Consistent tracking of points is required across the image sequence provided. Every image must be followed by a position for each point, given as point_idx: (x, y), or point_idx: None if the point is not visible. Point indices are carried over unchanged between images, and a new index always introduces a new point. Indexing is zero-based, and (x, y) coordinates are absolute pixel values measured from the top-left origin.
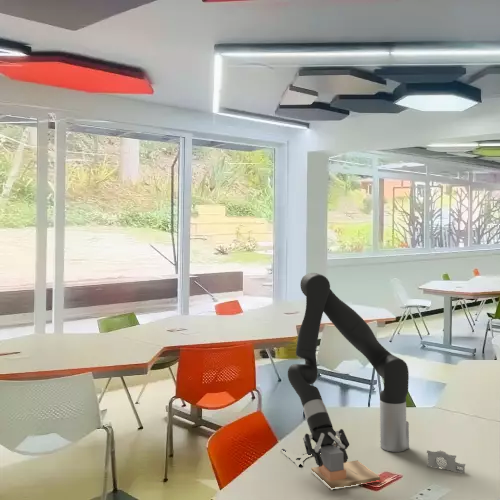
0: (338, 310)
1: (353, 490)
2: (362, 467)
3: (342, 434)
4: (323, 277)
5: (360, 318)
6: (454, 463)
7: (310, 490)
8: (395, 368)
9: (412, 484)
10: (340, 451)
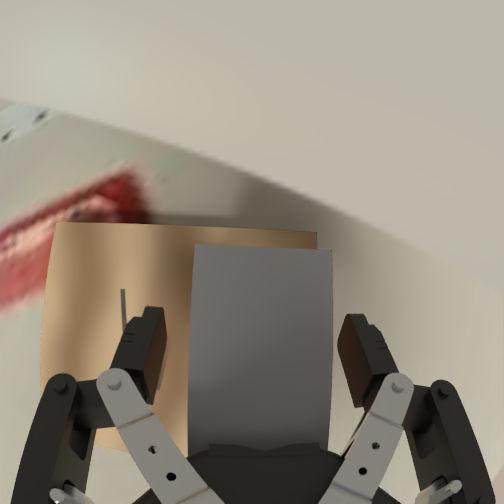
0: None
1: (213, 205)
2: (58, 349)
3: (43, 479)
4: None
5: None
6: None
7: (388, 280)
8: None
9: (7, 174)
10: (210, 273)
